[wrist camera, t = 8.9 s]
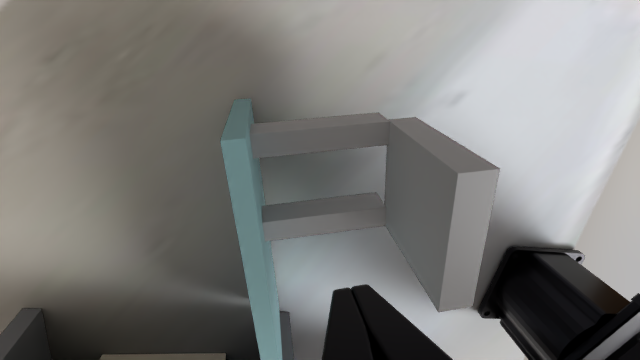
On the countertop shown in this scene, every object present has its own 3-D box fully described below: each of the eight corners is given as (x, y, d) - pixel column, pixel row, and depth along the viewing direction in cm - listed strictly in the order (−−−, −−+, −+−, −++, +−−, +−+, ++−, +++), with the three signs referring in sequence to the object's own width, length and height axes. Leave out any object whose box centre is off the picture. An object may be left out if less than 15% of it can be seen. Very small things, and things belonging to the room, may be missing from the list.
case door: (383, 87, 17) (503, 151, 9) (377, 290, 23) (444, 446, 15) (234, 99, 16) (205, 183, 8) (266, 307, 22) (270, 484, 14)
